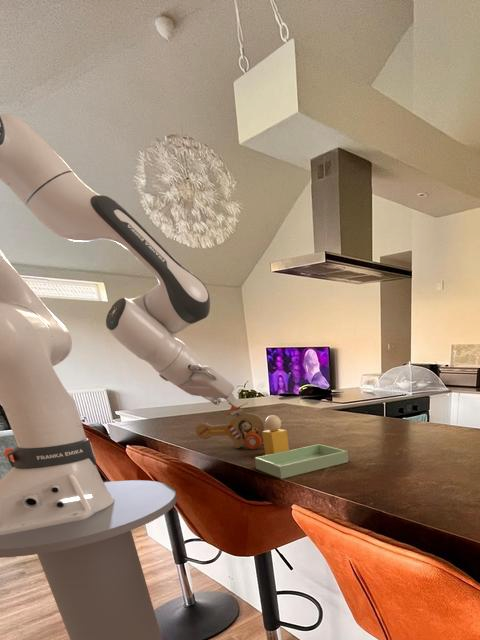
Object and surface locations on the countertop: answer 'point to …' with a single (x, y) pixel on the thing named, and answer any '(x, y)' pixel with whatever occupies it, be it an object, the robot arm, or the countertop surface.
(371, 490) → the countertop surface
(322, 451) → the tray
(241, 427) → the toy helicopter
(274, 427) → the yellow block with ball
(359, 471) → the countertop surface
